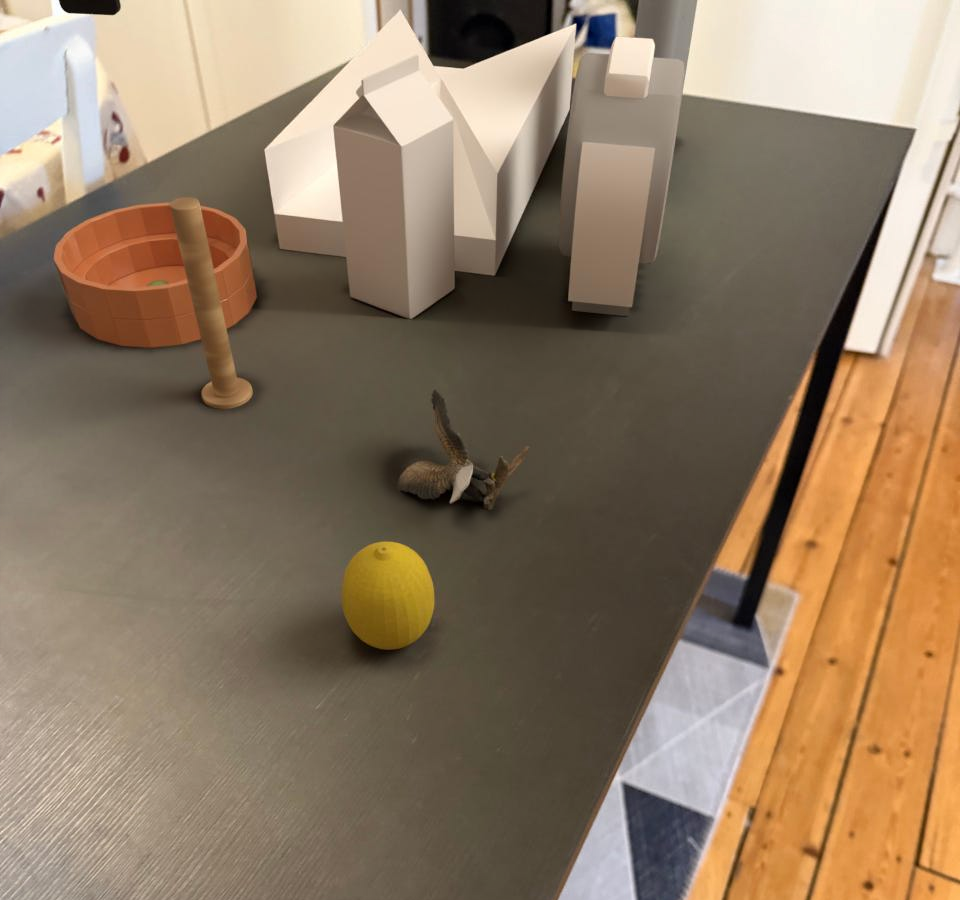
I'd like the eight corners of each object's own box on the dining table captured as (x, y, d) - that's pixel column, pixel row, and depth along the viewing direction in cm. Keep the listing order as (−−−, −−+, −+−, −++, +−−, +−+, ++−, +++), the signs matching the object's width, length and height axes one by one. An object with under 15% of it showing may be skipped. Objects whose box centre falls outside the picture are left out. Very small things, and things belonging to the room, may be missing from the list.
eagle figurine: (538, 466, 68) (443, 404, 70) (524, 431, 61) (419, 364, 63) (477, 550, 68) (384, 486, 70) (457, 524, 61) (354, 454, 63)
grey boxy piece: (571, 239, 94) (592, 7, 79) (654, 246, 93) (691, 14, 78) (549, 329, 83) (568, 78, 67) (644, 339, 82) (684, 87, 67)
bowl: (47, 349, 80) (22, 283, 75) (114, 260, 90) (96, 198, 86) (230, 361, 79) (216, 295, 74) (276, 270, 89) (266, 207, 85)
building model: (494, 275, 89) (497, 173, 82) (279, 248, 92) (264, 148, 85) (569, 109, 118) (576, 23, 111) (404, 93, 121) (400, 8, 114)
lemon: (334, 663, 57) (319, 570, 51) (367, 601, 60) (357, 507, 54) (418, 684, 56) (413, 592, 50) (447, 620, 59) (446, 527, 53)
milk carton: (455, 290, 87) (453, 63, 73) (410, 322, 83) (398, 89, 69) (396, 268, 90) (382, 46, 75) (349, 298, 86) (326, 70, 72)
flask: (638, 141, 111) (673, -124, 93) (675, 146, 111) (718, -120, 92) (605, 199, 101) (637, -87, 82) (647, 206, 100) (689, -82, 81)
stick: (196, 414, 74) (144, 212, 62) (215, 386, 76) (169, 187, 64) (243, 420, 73) (200, 218, 61) (261, 392, 76) (223, 193, 64)
